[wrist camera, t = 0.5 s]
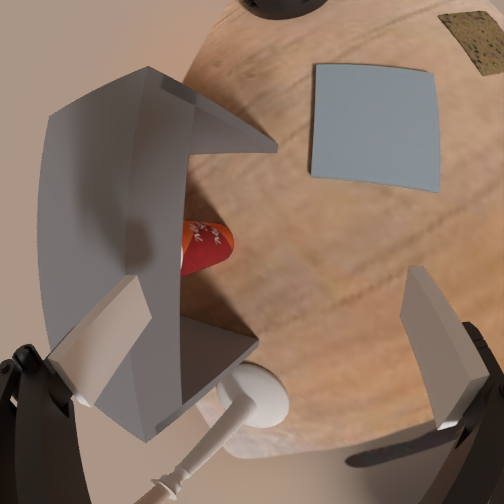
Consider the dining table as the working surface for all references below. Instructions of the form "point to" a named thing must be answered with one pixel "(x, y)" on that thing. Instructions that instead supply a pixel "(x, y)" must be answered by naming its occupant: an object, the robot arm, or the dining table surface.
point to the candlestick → (228, 422)
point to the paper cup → (204, 245)
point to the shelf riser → (135, 235)
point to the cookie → (478, 39)
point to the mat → (376, 126)
